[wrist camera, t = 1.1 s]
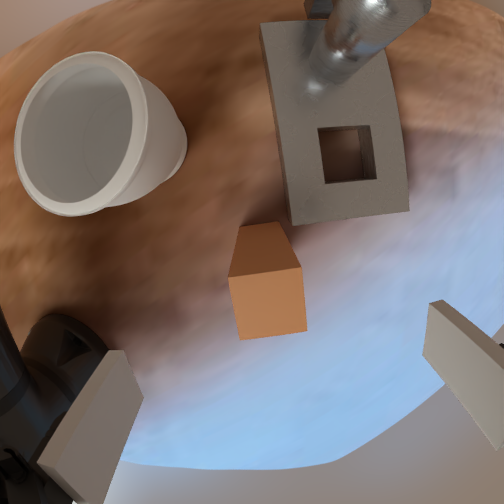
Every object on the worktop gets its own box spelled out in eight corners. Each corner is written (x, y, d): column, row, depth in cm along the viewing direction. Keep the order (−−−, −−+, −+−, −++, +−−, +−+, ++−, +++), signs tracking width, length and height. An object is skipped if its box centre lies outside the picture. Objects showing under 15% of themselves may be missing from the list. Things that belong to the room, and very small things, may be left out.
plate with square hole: (288, 219, 30) (333, 284, 13) (255, 19, 25) (257, -96, 7) (394, 206, 30) (512, 248, 13) (360, 18, 24) (432, -70, 7)
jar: (89, 153, 28) (-6, 152, 14) (148, 80, 27) (77, 26, 12) (153, 215, 30) (79, 253, 16) (219, 140, 28) (187, 112, 14)
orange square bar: (245, 264, 32) (239, 340, 17) (239, 226, 31) (227, 277, 16) (283, 258, 32) (307, 331, 17) (278, 221, 31) (301, 267, 16)
